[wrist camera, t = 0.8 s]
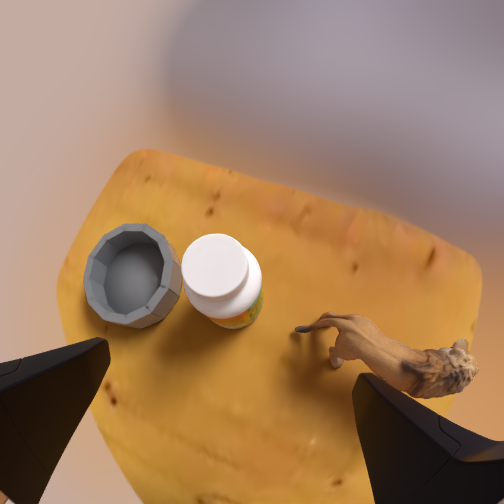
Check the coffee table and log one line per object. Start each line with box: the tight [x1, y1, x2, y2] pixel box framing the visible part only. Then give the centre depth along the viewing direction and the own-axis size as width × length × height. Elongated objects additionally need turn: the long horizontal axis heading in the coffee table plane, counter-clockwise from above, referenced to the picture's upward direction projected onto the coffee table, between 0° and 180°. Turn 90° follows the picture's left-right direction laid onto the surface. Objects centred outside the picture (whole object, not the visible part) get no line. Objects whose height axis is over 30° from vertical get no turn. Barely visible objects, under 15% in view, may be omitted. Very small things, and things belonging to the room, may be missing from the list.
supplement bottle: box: [181, 234, 263, 329], centre depth 20 cm, size 5×5×10 cm
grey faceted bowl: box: [83, 224, 183, 329], centre depth 24 cm, size 10×10×3 cm
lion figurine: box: [295, 311, 479, 399], centre depth 18 cm, size 15×5×9 cm, turn 67°
